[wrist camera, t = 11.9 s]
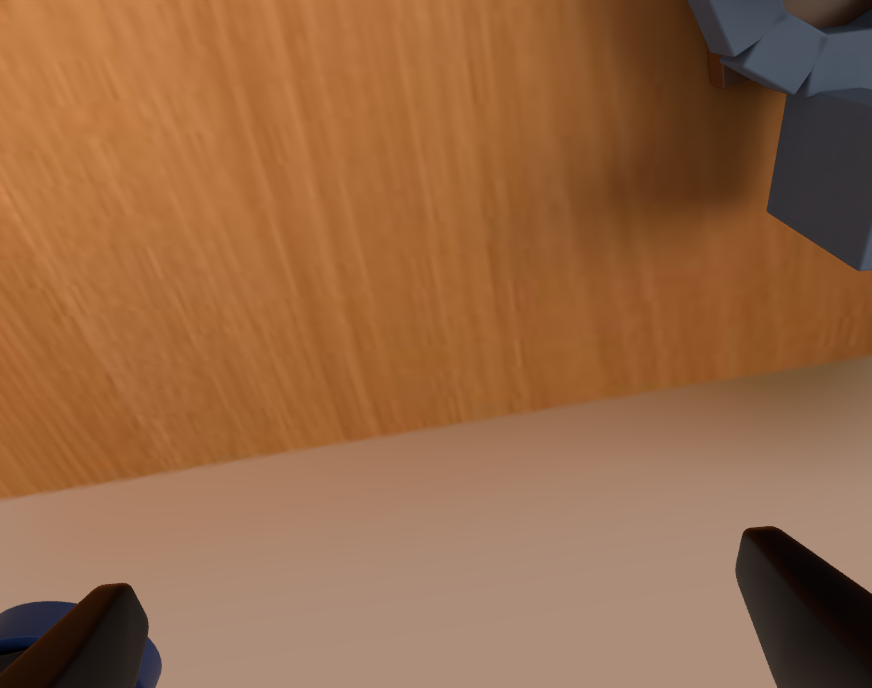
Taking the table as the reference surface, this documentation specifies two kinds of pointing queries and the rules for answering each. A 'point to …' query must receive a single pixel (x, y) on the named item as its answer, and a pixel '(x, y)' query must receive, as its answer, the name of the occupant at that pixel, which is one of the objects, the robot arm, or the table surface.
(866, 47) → the ring
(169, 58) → the table surface
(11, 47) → the table surface
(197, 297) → the table surface
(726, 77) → the peg stand
